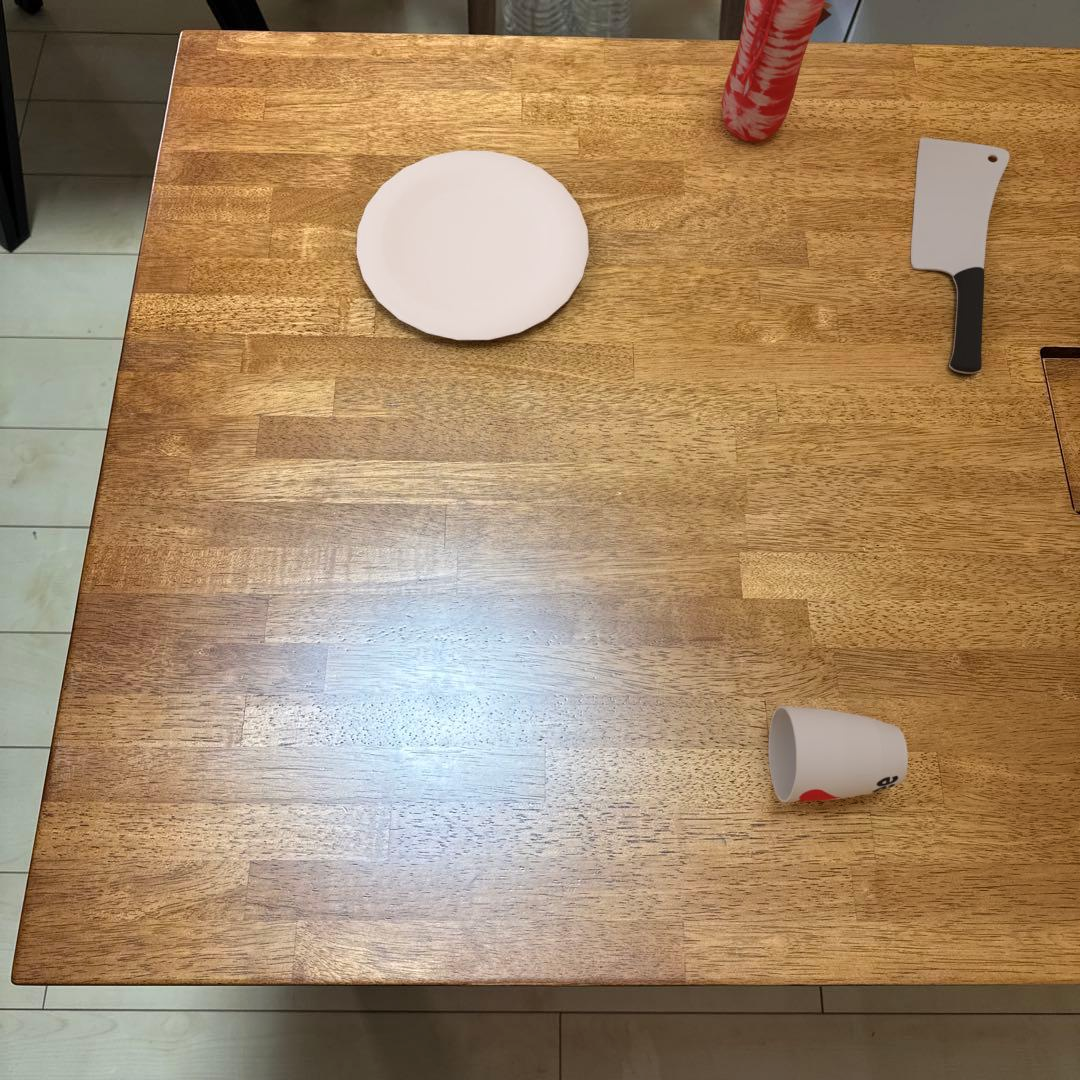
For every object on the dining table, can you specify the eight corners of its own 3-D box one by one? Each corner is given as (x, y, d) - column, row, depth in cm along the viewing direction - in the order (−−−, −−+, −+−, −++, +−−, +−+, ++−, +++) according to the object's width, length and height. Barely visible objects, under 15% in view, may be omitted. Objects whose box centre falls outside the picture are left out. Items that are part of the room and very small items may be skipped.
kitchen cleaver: (921, 132, 118) (1012, 141, 116) (918, 143, 119) (1007, 152, 118) (895, 358, 106) (996, 372, 104) (892, 367, 108) (990, 381, 106)
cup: (876, 790, 92) (767, 789, 91) (877, 700, 92) (769, 699, 91) (914, 814, 84) (795, 813, 83) (916, 715, 84) (797, 713, 83)
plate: (369, 361, 105) (367, 352, 103) (347, 171, 114) (345, 160, 113) (607, 333, 107) (608, 324, 106) (567, 148, 116) (568, 137, 115)
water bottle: (758, 70, 122) (817, -137, 98) (813, 104, 120) (886, -98, 97) (697, 128, 118) (744, -73, 95) (753, 165, 116) (814, -31, 93)
